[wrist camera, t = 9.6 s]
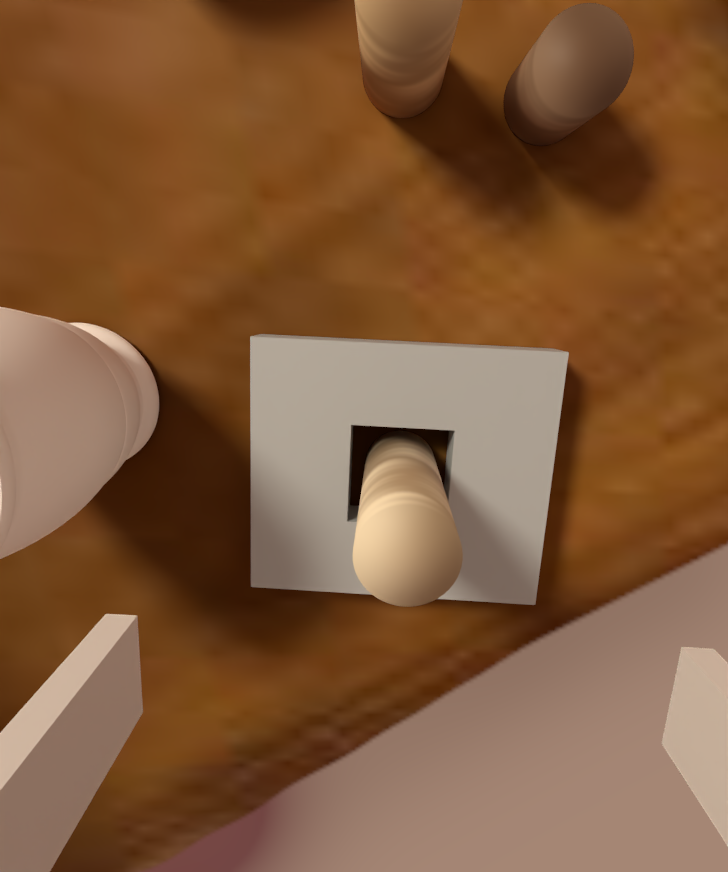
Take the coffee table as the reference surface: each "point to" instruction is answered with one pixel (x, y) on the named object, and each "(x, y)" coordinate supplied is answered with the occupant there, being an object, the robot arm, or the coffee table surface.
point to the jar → (64, 419)
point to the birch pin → (405, 524)
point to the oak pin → (405, 51)
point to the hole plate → (403, 408)
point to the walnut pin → (569, 74)
